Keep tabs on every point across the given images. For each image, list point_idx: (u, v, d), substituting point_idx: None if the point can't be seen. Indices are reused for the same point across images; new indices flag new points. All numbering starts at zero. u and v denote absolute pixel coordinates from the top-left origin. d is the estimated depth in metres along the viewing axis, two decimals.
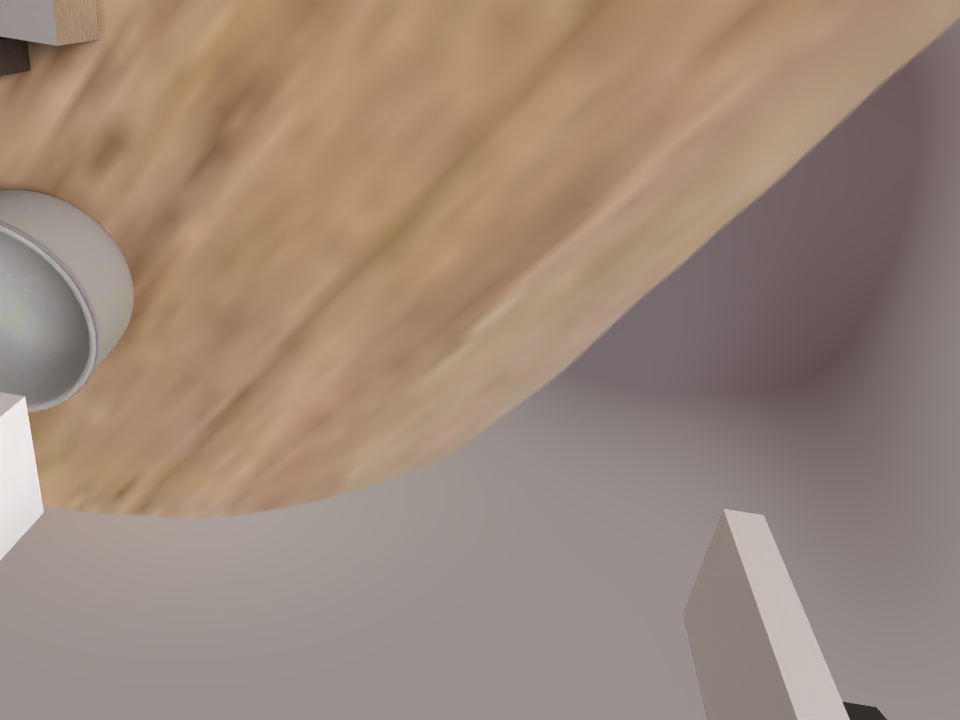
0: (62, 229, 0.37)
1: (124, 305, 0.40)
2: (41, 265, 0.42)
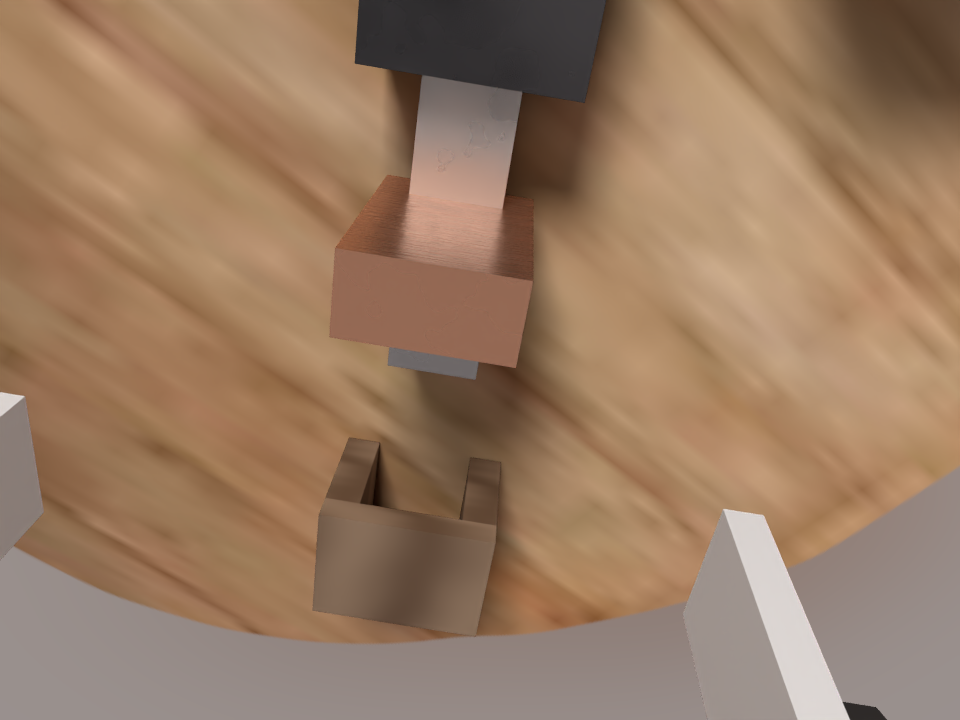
0: None
1: None
2: None
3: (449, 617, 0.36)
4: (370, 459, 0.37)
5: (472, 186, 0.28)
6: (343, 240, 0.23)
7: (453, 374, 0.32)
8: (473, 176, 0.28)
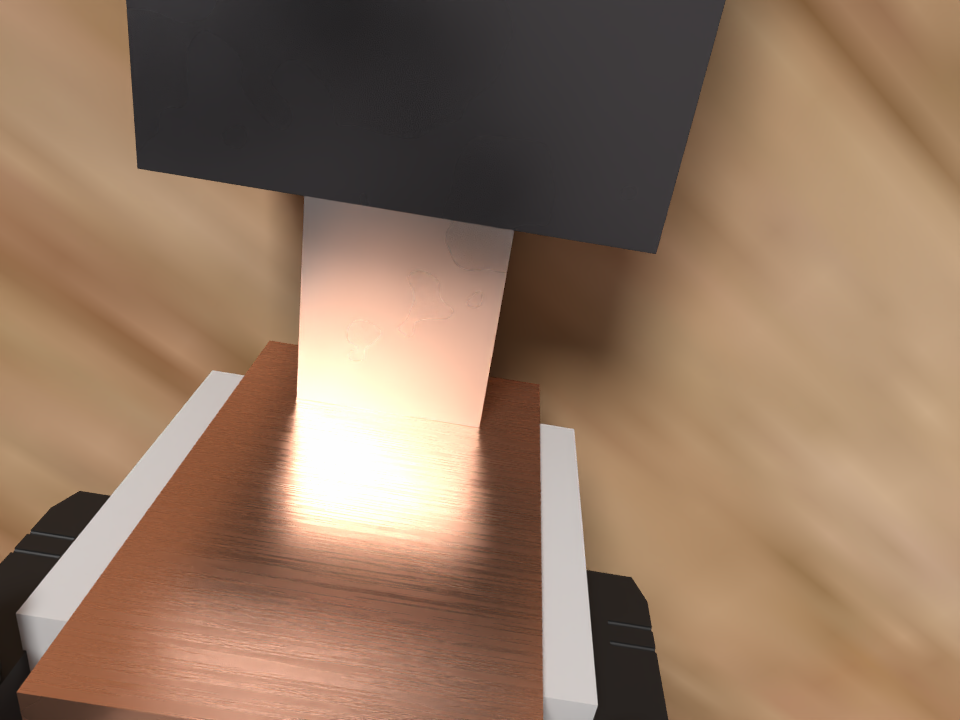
0: None
1: None
2: None
3: None
4: None
5: (419, 387, 0.14)
6: (60, 641, 0.09)
7: None
8: (420, 370, 0.14)
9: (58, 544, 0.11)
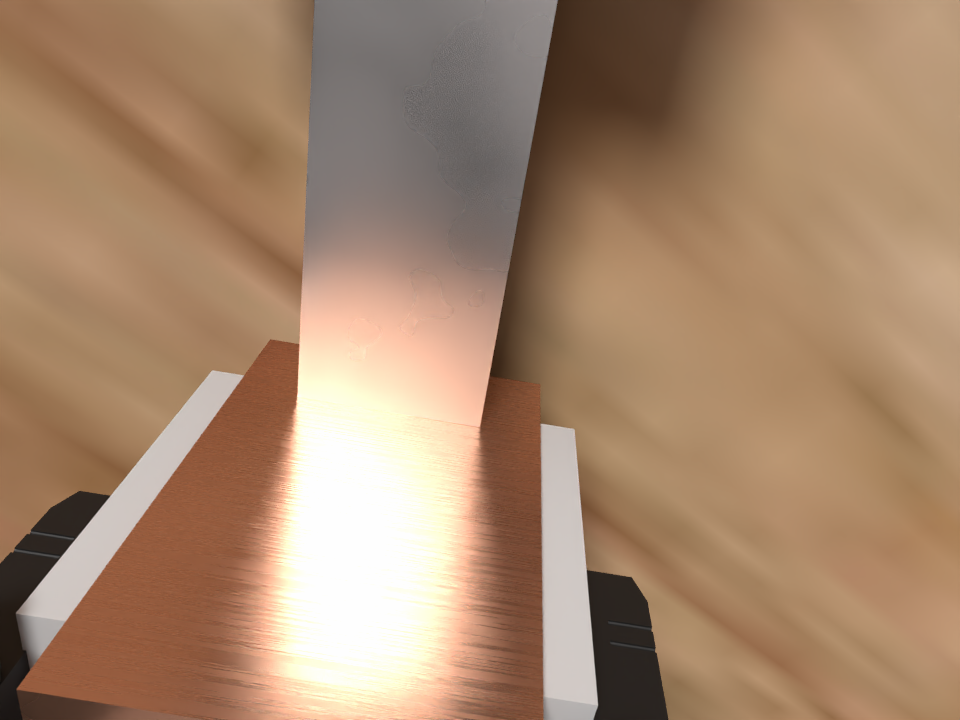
0: None
1: None
2: None
3: None
4: None
5: (420, 386, 0.14)
6: (60, 638, 0.09)
7: None
8: (420, 370, 0.14)
9: (58, 544, 0.11)
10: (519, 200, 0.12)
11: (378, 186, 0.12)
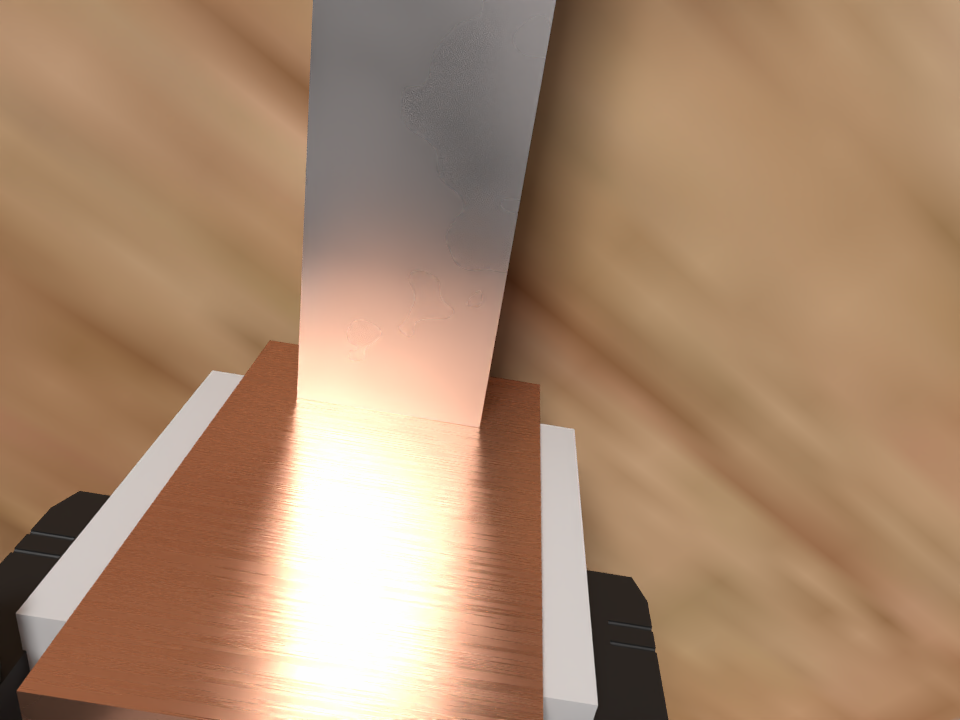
0: None
1: None
2: None
3: None
4: None
5: (420, 386, 0.14)
6: (60, 639, 0.09)
7: None
8: (420, 370, 0.14)
9: (58, 544, 0.11)
10: (518, 200, 0.12)
11: (377, 187, 0.12)
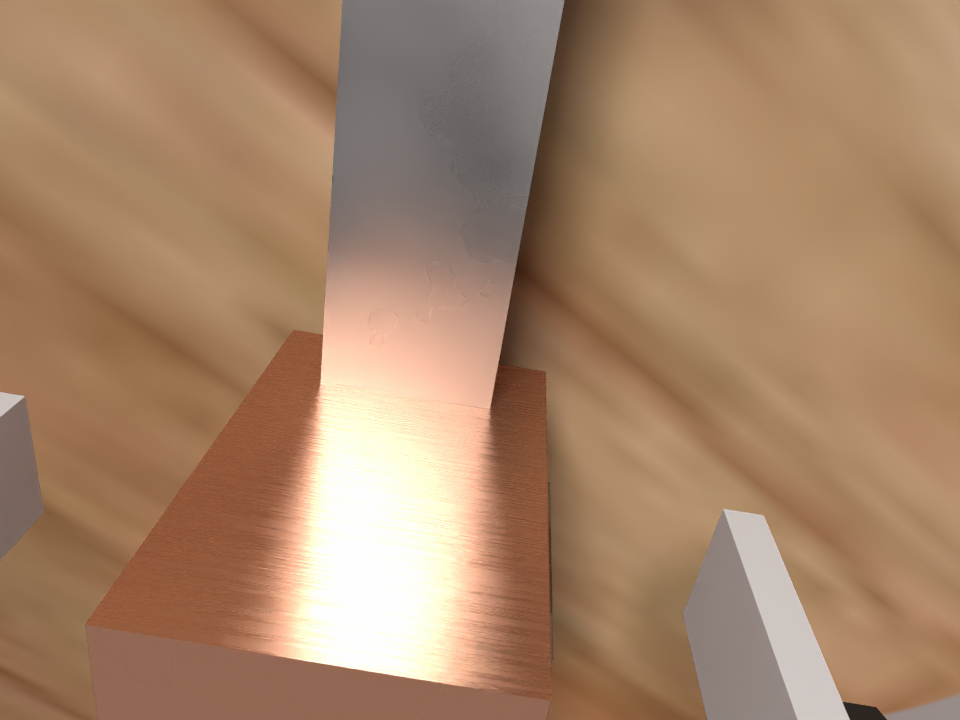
0: None
1: None
2: None
3: None
4: None
5: (434, 371, 0.15)
6: (120, 583, 0.10)
7: None
8: (435, 355, 0.15)
9: None
10: (527, 197, 0.14)
11: (397, 184, 0.14)
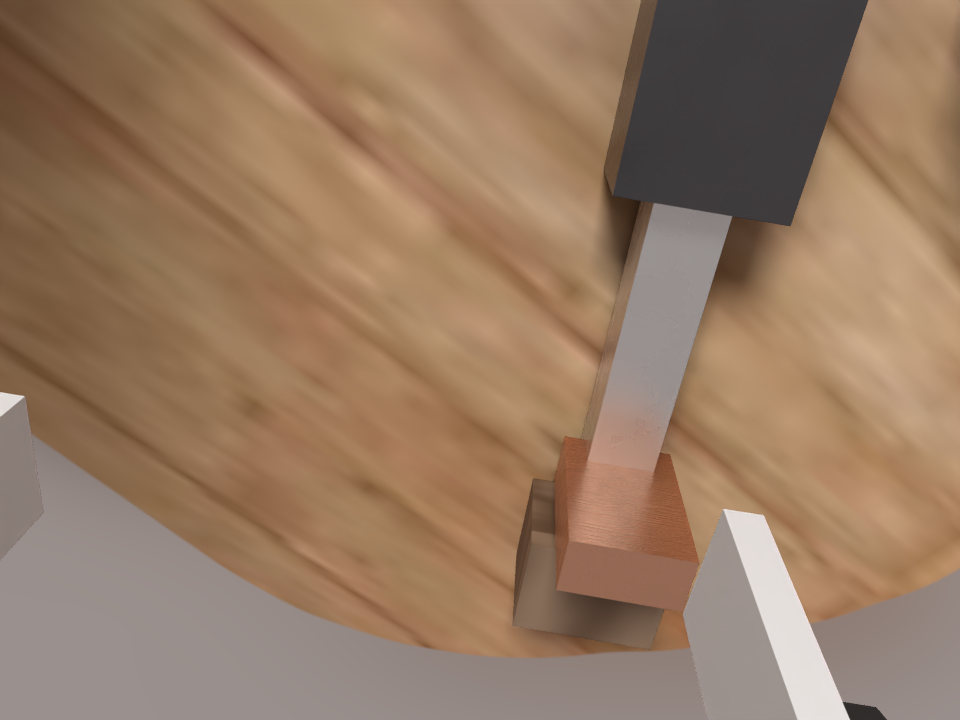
0: None
1: None
2: None
3: (630, 632, 0.42)
4: None
5: (633, 457, 0.40)
6: (570, 530, 0.34)
7: None
8: (634, 451, 0.39)
9: None
10: (675, 399, 0.38)
11: (629, 394, 0.38)
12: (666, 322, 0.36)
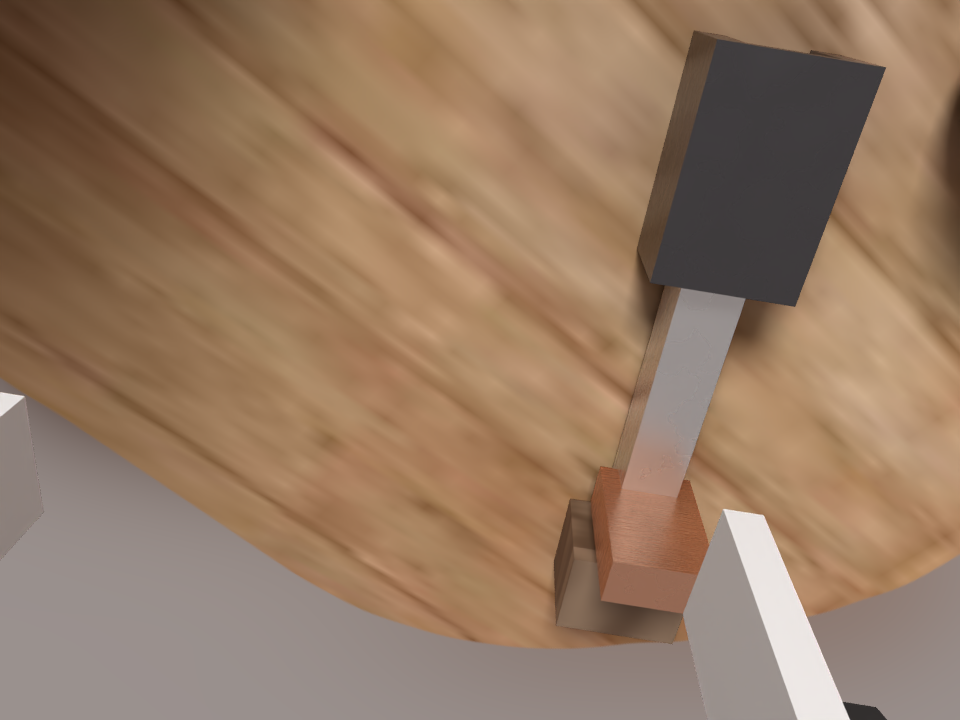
0: None
1: None
2: None
3: (655, 630, 0.50)
4: (591, 516, 0.52)
5: (660, 486, 0.47)
6: (613, 552, 0.42)
7: None
8: (661, 481, 0.47)
9: None
10: (696, 438, 0.45)
11: (658, 435, 0.45)
12: (690, 378, 0.43)
